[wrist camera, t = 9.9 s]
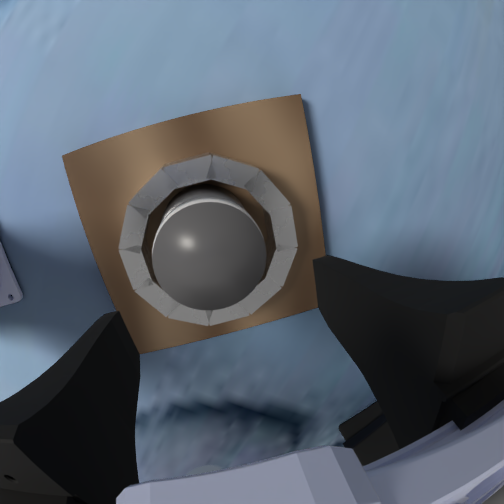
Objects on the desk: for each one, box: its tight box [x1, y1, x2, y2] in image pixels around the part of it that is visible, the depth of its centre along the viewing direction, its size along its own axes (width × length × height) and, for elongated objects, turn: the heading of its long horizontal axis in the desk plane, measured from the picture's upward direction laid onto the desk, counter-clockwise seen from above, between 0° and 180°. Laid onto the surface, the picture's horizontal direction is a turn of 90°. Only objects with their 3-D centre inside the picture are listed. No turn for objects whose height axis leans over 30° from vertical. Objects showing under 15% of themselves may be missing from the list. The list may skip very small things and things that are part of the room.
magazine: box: [339, 401, 400, 467], centre depth 25 cm, size 4×13×15 cm, turn 122°
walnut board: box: [62, 94, 326, 354], centre depth 19 cm, size 14×14×1 cm
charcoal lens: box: [152, 184, 266, 310], centre depth 16 cm, size 5×5×5 cm
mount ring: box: [118, 152, 298, 326], centre depth 18 cm, size 9×9×2 cm
